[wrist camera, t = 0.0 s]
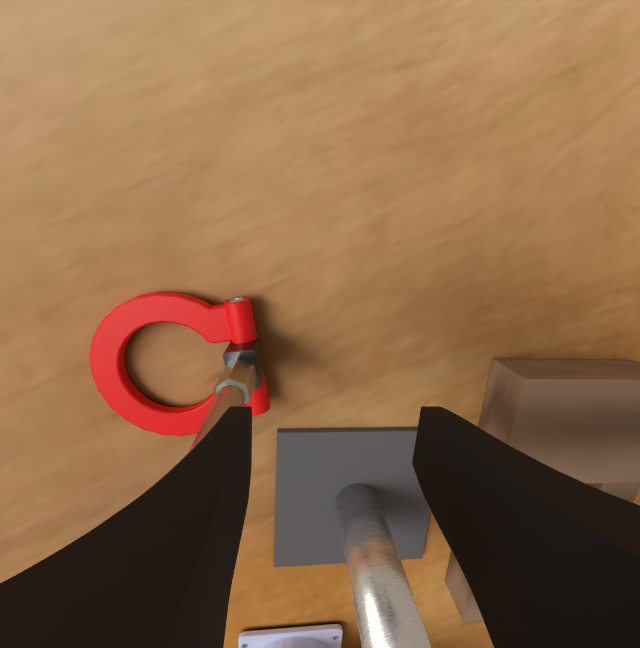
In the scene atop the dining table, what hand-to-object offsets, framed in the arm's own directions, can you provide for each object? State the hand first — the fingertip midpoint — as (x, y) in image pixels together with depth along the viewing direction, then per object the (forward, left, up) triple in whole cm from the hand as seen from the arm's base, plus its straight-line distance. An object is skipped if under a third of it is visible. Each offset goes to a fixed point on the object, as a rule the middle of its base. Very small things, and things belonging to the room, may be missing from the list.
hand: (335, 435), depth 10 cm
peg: (-12, -4, -10) cm, 16 cm away
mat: (-12, -4, -10) cm, 16 cm away
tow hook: (-2, +7, -11) cm, 13 cm away
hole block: (-11, -17, -10) cm, 23 cm away
